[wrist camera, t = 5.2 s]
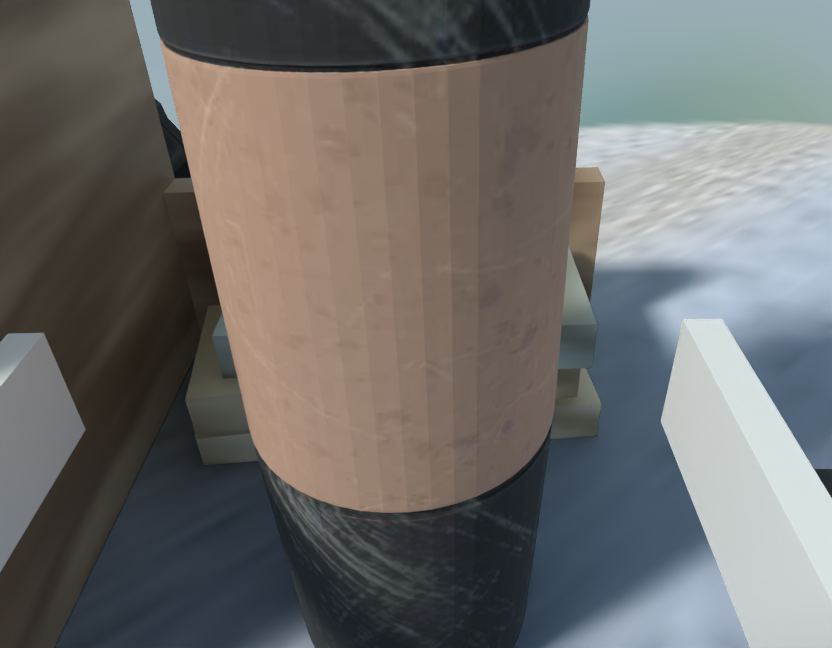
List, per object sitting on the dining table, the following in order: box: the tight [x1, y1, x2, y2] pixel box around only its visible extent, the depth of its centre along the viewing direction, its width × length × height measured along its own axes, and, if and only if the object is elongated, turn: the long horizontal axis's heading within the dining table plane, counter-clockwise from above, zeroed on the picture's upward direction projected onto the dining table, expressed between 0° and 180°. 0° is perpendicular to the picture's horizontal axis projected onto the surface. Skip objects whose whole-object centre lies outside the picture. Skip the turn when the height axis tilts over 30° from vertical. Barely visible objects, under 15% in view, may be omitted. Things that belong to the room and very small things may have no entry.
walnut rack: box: [0, 0, 605, 648], centre depth 21 cm, size 21×22×20 cm
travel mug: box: [151, 0, 590, 648], centre depth 17 cm, size 8×8×20 cm
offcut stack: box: [185, 248, 601, 465], centre depth 29 cm, size 16×8×6 cm, turn 94°
